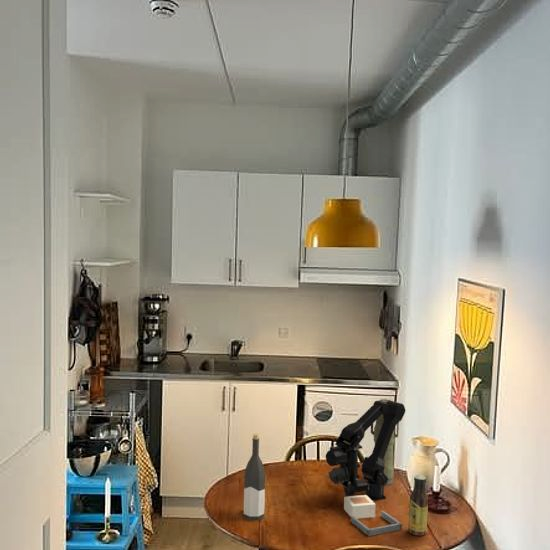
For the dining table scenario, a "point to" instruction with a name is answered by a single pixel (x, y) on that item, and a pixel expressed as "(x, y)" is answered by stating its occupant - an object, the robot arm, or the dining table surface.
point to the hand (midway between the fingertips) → (348, 500)
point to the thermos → (389, 453)
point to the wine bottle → (254, 485)
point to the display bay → (378, 530)
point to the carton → (359, 506)
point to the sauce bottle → (418, 507)
